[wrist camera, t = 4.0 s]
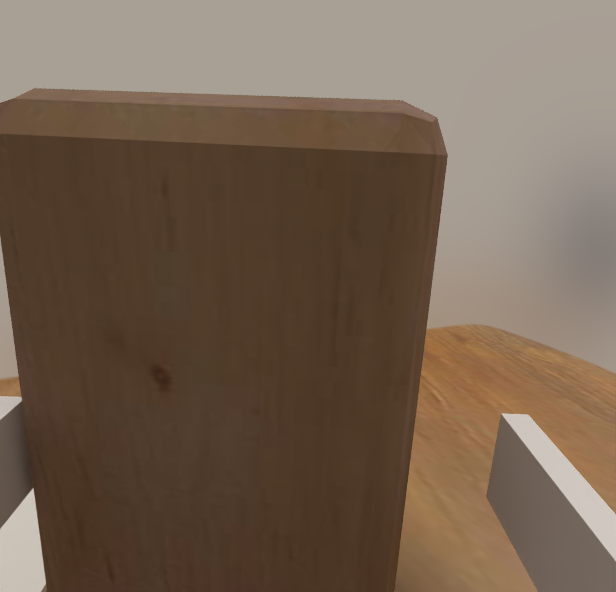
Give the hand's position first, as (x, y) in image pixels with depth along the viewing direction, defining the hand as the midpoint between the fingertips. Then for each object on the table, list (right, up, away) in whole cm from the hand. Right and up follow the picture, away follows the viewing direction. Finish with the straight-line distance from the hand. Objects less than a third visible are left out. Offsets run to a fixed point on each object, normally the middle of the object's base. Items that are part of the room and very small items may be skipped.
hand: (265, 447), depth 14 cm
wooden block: (-1, -10, +6) cm, 12 cm away
